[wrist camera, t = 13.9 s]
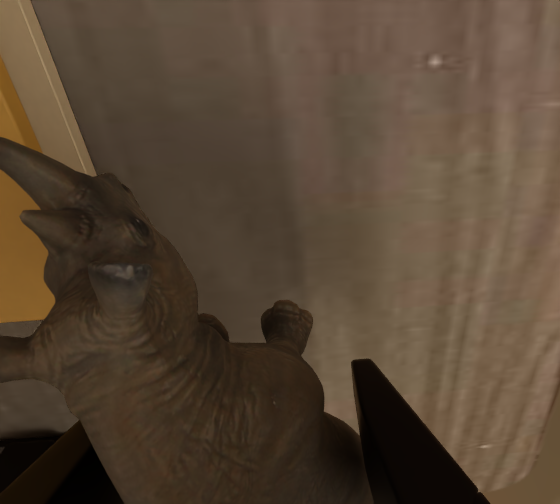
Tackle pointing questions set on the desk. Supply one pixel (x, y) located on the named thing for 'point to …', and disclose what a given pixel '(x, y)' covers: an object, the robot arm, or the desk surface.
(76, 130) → the wooden box
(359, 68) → the desk surface
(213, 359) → the rhino figurine
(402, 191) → the desk surface
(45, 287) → the cover
